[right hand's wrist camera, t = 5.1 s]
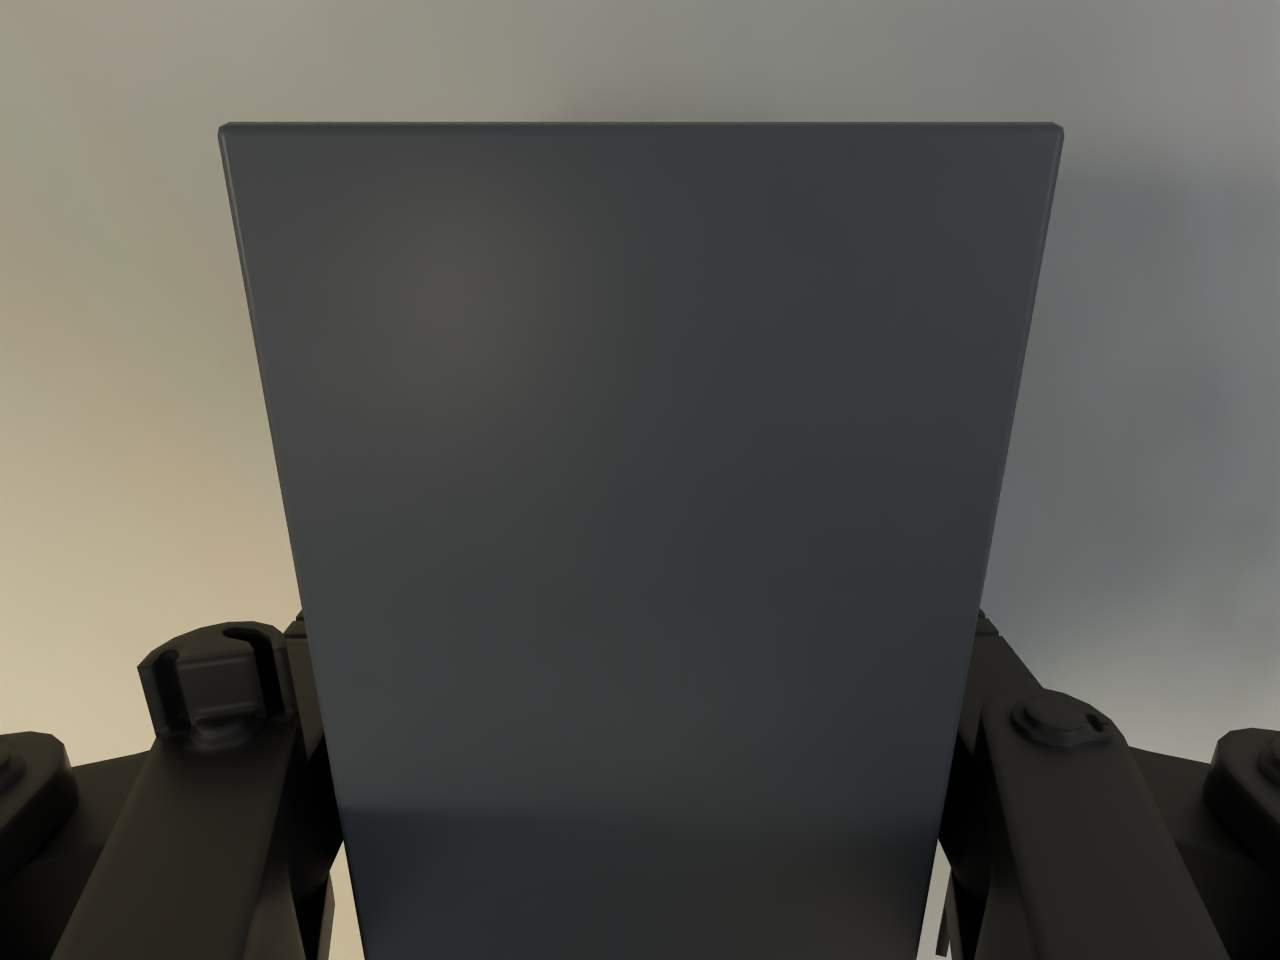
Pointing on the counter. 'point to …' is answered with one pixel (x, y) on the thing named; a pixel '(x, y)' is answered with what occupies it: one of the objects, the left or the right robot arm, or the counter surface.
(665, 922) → the beam
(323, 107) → the counter surface
